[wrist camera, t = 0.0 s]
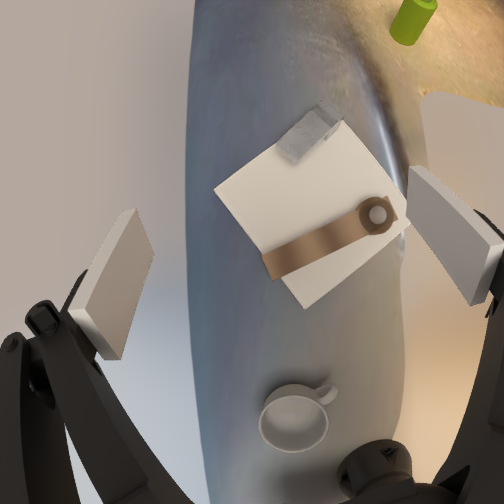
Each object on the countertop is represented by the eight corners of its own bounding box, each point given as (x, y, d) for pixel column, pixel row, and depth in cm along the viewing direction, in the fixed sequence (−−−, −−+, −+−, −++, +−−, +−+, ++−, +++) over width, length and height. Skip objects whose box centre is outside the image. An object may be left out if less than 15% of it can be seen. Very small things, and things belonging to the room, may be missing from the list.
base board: (414, 218, 48) (417, 217, 47) (304, 307, 50) (304, 309, 48) (328, 109, 49) (329, 105, 48) (215, 191, 51) (213, 189, 49)
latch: (378, 193, 47) (386, 189, 43) (393, 225, 47) (402, 223, 43) (259, 250, 49) (258, 250, 45) (275, 284, 48) (275, 286, 45)
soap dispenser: (413, 26, 48) (445, -31, 28) (416, 49, 48) (454, -9, 28) (388, 19, 48) (415, -43, 28) (390, 41, 48) (422, -22, 28)
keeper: (336, 133, 49) (344, 115, 42) (293, 174, 50) (296, 162, 43) (318, 117, 50) (324, 98, 42) (275, 158, 50) (275, 143, 43)
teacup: (280, 437, 50) (280, 462, 42) (248, 394, 51) (244, 416, 43) (349, 402, 49) (359, 423, 41) (320, 355, 50) (327, 372, 42)
